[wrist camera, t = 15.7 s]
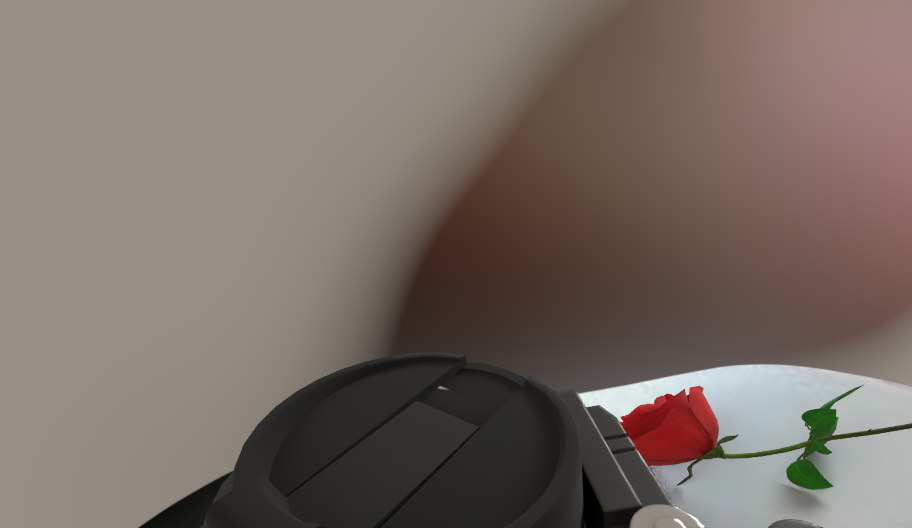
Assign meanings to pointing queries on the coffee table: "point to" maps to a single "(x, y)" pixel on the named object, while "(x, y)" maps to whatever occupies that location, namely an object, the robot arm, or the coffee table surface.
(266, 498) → the travel mug
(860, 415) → the coffee table surface
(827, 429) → the flower
